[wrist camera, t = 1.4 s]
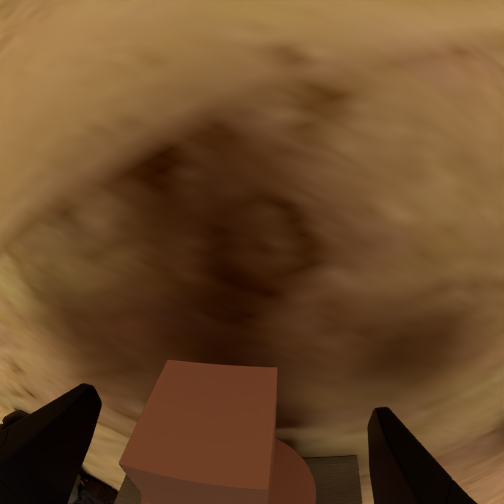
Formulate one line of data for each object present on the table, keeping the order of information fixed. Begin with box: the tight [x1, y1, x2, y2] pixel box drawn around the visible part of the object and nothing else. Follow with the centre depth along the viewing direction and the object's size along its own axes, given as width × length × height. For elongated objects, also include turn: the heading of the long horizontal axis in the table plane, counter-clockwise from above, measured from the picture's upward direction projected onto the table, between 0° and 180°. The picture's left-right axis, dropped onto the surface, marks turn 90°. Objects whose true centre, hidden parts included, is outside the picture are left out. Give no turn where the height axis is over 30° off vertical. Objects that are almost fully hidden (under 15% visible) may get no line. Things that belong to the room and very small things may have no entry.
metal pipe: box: [0, 410, 118, 504], centre depth 17 cm, size 18×7×6 cm, turn 4°
